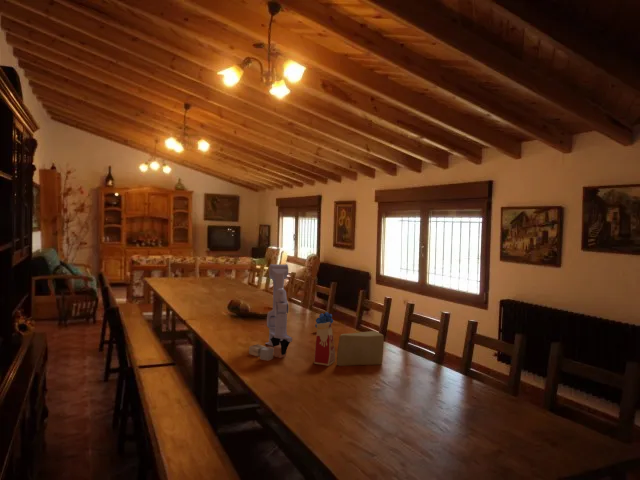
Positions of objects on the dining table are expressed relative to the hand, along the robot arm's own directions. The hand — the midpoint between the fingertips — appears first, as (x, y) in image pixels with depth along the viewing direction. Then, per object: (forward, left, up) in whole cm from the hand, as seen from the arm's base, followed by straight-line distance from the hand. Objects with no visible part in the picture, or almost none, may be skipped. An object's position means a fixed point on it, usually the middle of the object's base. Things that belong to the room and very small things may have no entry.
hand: (279, 353), depth 241 cm
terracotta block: (0, 0, -2) cm, 2 cm away
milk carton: (-9, +21, -2) cm, 23 cm away
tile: (-3, -11, -1) cm, 11 cm away
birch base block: (+6, -10, -2) cm, 12 cm away
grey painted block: (+8, -1, -2) cm, 8 cm away
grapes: (-56, -20, -2) cm, 59 cm away
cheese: (-20, +34, -2) cm, 39 cm away
